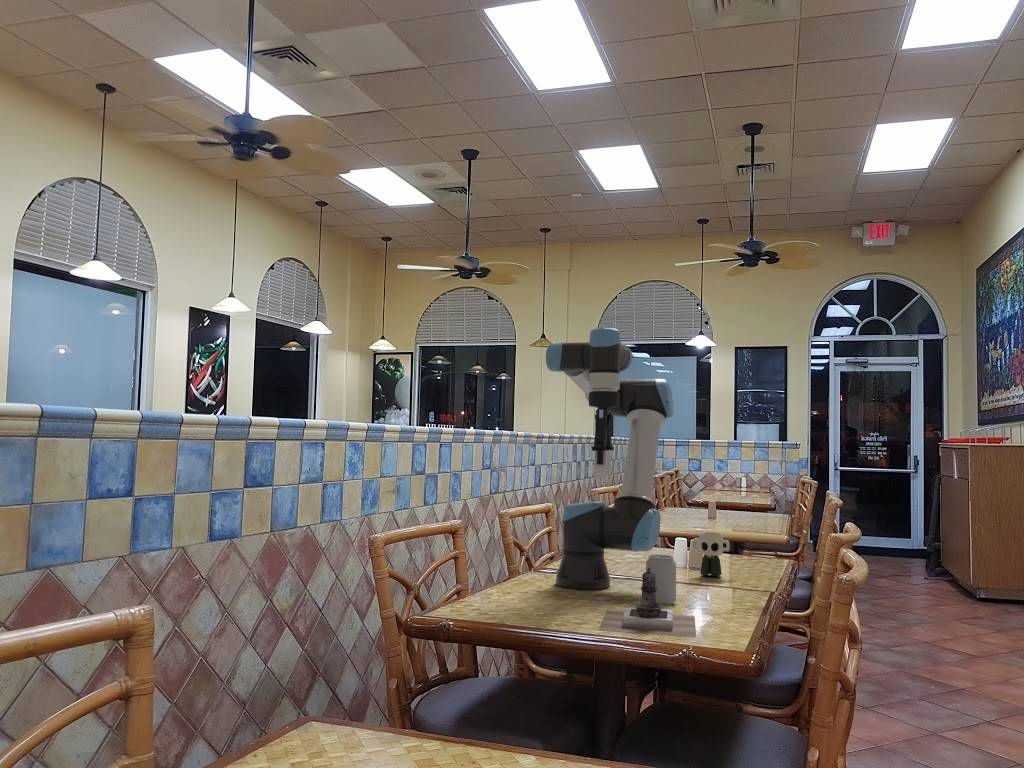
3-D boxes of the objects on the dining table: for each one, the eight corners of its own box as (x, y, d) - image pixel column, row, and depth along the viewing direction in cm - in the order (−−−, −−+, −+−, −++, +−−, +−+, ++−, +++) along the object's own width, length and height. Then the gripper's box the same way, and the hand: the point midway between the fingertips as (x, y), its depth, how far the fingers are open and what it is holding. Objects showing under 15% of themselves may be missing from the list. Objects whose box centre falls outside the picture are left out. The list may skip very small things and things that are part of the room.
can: (679, 606, 198) (679, 558, 199) (649, 606, 198) (649, 557, 198) (671, 600, 205) (672, 553, 206) (642, 600, 205) (643, 553, 206)
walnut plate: (606, 615, 186) (606, 610, 186) (694, 621, 182) (694, 616, 182) (598, 636, 167) (598, 630, 167) (696, 643, 163) (696, 637, 163)
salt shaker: (634, 619, 178) (634, 564, 179) (661, 620, 177) (661, 565, 178) (635, 625, 172) (636, 569, 173) (663, 626, 171) (663, 570, 172)
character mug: (690, 576, 242) (691, 533, 243) (694, 573, 249) (695, 531, 250) (727, 579, 238) (728, 535, 239) (730, 576, 245) (731, 533, 246)
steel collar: (626, 616, 181) (626, 607, 181) (673, 619, 179) (673, 610, 179) (622, 626, 171) (623, 617, 171) (672, 630, 168) (672, 620, 169)
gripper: (594, 393, 210) (593, 474, 209) (582, 387, 186) (581, 479, 184) (622, 394, 209) (621, 475, 207) (615, 387, 184) (614, 480, 183)
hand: (602, 477), depth 196 cm, fingers open, 13 cm apart
